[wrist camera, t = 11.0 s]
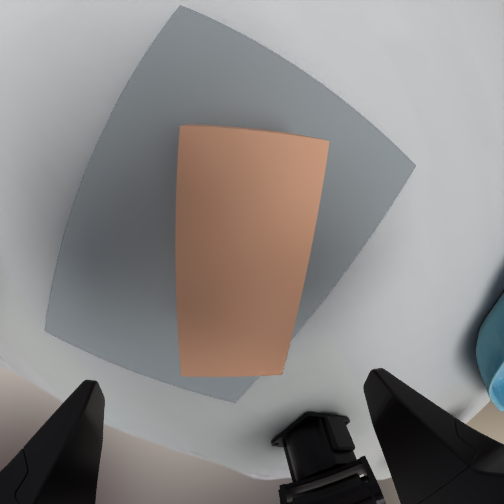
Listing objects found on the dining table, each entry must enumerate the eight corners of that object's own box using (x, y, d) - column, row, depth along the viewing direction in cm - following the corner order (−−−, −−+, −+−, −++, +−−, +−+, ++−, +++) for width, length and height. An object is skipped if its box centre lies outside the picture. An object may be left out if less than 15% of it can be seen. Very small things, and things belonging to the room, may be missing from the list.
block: (282, 374, 14) (329, 140, 9) (181, 376, 13) (179, 125, 9) (264, 315, 18) (290, 132, 14) (184, 315, 18) (189, 124, 13)
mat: (234, 397, 23) (235, 402, 22) (47, 325, 17) (44, 330, 17) (410, 163, 16) (416, 165, 15) (181, 9, 11) (180, 5, 10)
